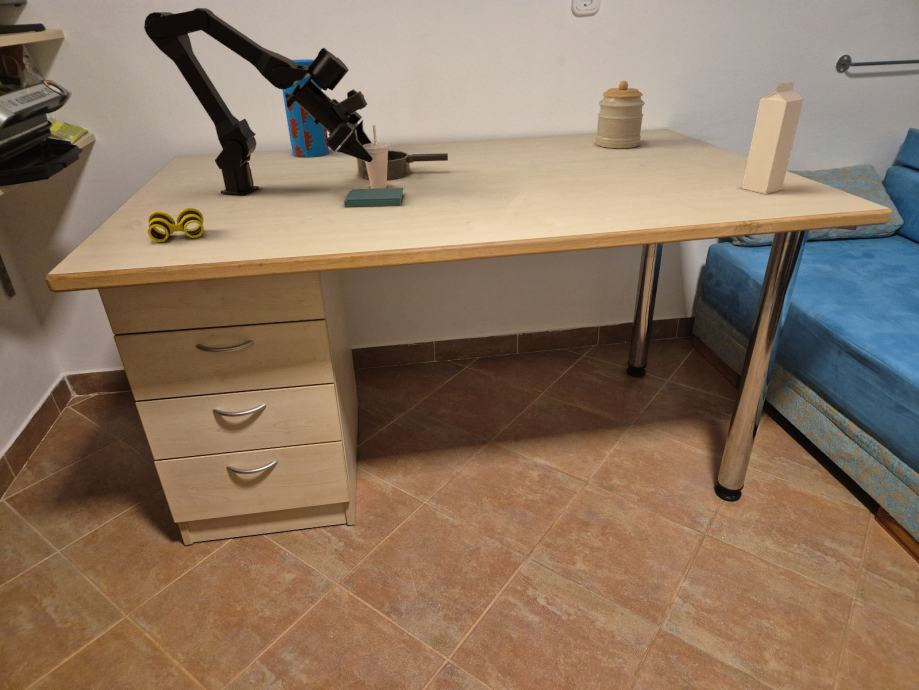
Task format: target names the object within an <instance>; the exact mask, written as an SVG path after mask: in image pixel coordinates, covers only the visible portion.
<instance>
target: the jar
mask: <svg viewBox="0 0 919 690" xmlns="http://www.w3.org/2000/svg"><path fill="white" fill-rule="evenodd" d="M643 94H644V93H642V92H641V91H639V89H638V88H633V87H629V83H628V81H626V80H621V81H620V82H619V83H618V87H613V88H608V89H607V90H606V91H604V92H603V93H602V96H603V98H602V99H601V100H600V101H599V102H598V105H599V106H600V107H599V113H597V128H596V134H595V143H596V146H599V147H602V148H608V149H631V148H636V147H638V146H640V142H641V132H642V123H643V118H644V114H643V107H644V105H645V104H646V103H645V101H644V100H642V97H643Z"/></svg>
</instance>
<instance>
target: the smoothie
mask: <svg viewBox="0 0 919 690" xmlns="http://www.w3.org/2000/svg"><path fill="white" fill-rule="evenodd" d="M372 135H373V142H372V143H370V144H365V145H362V146H363V147H364V148H365V149H366V150H367V152H368V153H369V154H370V155H371V157H372V158H373V160H372V161H371V162H367V161H365V163H366V167H367V172H368V177H369V180H368V181H369V185H370V189H377V188H388V187H387V184H388V183H387V182H388V180H387V162H388V151H390V145H389V144H388V143H385V142H377V129H376V125H375V124H373V125H372Z"/></svg>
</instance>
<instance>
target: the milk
mask: <svg viewBox="0 0 919 690" xmlns="http://www.w3.org/2000/svg"><path fill="white" fill-rule="evenodd" d="M794 84H795V82H794V81H789V82H780V83H777V84H776V85H775V91H773V92H772V93H770V94H768V95H766V96H764V97H762V98H760V100H759V105H758V109H757V114H756V119H755V123H754V128H753V134H752V139H751V143H750V148H749V152H748V157H747V162H746V167H745V171H744V177H743V180H742V186H741V189H743V190H746V191H751V192H756V193H759V194H764V195H767V194H771V193H775V192H779V191H781V190H782V189H783V186H784V182H785V179H786V174H787V171H788V165H789V163H790V162H789V161H790V157H791V154H792V153H791V152H792V149H793V144H794V140H795V137H796V132H797V128H798V124H799V120H800V117H801V112H802V109H803V103H804V98H803V97H802V96H801V95H799V93H797V92H796V91H795V90H794V89H793V88H794Z"/></svg>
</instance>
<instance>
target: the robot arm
mask: <svg viewBox="0 0 919 690" xmlns="http://www.w3.org/2000/svg"><path fill="white" fill-rule="evenodd" d="M143 29H144V31H145V32H144V33H146V35H147V37H148V38H149V39H150V40H151V41H152V43H153V44H154V45H155V46H156V47H157V48H158V50H159V51H160V52H162V53H163V54H164V55H165V56H167V57H168V59H170V60H171V61H172V62H173V63H174V64H175V66H176V67H177V69H178V70H179V72H180V73H181V75H182V77H183V78H184V80H185V81H186V83H187V85H188V86H189V88H190V89H191V90H192V92H193V94H194V96H195V97H196V98H197V100H198V101H199V103H200V104H201V106H202V107H203V109H204V111H205V112H206V114H207V115H208V117H209V119H210V120H211V122H212V123H213V125H214V128H215V132H216V136H217V139H218V142H219V144H220V146H221V148H222V150H221V151H220V152H219V154H218V155H217V157H216V158H215V159H214V162H215V164H216V166H217V167H218V169H219V170H221V174H222V179H223V184H224V188H225V189H222V190H221V191H220V193H221V194H222V195H223V194H224V195H234V196H235V195H237V196H244V195H247V194H250V193H252V192H254V191H256V190H259V189H260V186H259V185H254V179H253V173H252V169H251V166H250V160H251V158H252V157H251V156H252V154H253V153H254V152H255V150H256V148H257V140H256V137H255V136H256V135H257V134H256V133H255V132H254V131H253V130H252V129H251V127H250V125H249V122H248V121H247V119H246V118H243V119H241V120H239V119H238V118H237V117H236V116H234V114H232V112H231V110H230V109H229V107H228V106H227V104H226V102H225V101H224V99H223V97H222V96H221V95H220V93H219V91H218V89H217V88H216V87H215V85H214V83H213V81H212V80H211V78H210V77H209V75H208V73H207V72H206V70H205V69H204V67H203V66H202V64H201V63H200V61H199V60H198V58H197V56H196V55H195V53H194V49H193V46H192V42H191V38H190V35H189V34H193V33H196V32H200V31H202V32H204V33H205V34H207V35H208V36H209V37H211V38H213V39H214V40H216V41H217V42H219V43H220V44H221V45H223V46H224V47H226V48H228V49H229V50H231V51H232V52H233V53H235V54H236V55H238V56H239V57H241V58H243V59H244V60H245V61H247V62H248V63H250V64H251V65H252V66H253V67H254V68H256V70H257V71H258V72H259V73H260V75H261V76H262V77H263V78H264V79H265V80H267V81H268V82H269V83H270V84H271V85H272V86H273V87H275V88H276V89H278V90H282V89H288V88H290V87H292V86H293V85H295V84H296V83H297V82H298V81H299V80H302V79H304V78H306V77H308V76H309V75H311V77H310V78H309V79H308V81H307V82H306V83H305V84H304V85H302V84H298V85H297V87H296V88H295V89H294V91H293V92H292V93H287V94H285V97H286V101H287V107H288V108H290V107H291V106H293V105H294V103H295V102H296V103H297V104H298V105H300V106H301V107H302V108H303V109H304V110H305V111H306V112H307V113H308V114H309V115H311V116H312V117H313V118H314V119H315V120H314V122H315V123H316V124H317V125H318V124H320V125H321V126H323V127H324V128H325V129H326V130H327V133H328V139H327V145H328V147H329V149H331V151H333V152H337V153H341V154H344V155H347V156H350V157H352V158H356V159H357V158H358V159H361V160H364V161H367V162H371V161H372V160H373V158H372V157H371V155H370V154H369V153H368V152H367V150H366V149H365V148H364V147H363V146H362V145H365V144H370V143H373V142H372V140H371V139H370V137H369V136H368V135H367V133H366V132H365V129H364V119H362V118H363V116H362V115H361V114H359V112H357V111H359V110H360V111H361V110H362V109H365V108H366V107H367V106H368V102H367V100H366V98H365V95H364V94H363V93H362V91H361V90H359V91H356V90H355V89H351V90H349V91H347V93H346V98H344V99H342V100H341V101H338V100H337V99H336V98H332V99H331V97H329V96H328V95H327V94H326V93H325V92H326V91H327V90H330V91H334V90H335V89H336V87H337V86H338V85H339V83H340V82H341V81H342V80H343V78H344V77H345V76H346V75H347V74H348V72H349V71H350V70H349V68H348V66H347V65H346V64H345V63H344V62H343V60H341V58H339V56H338V57H337V56H336V55H334V54H333V53H332V52H330V51H328V49H327V48H325V47H322V48H321V49H320V50H319V51H318V53H317V56H316V57H315V58H314V59H313V60H314V61H313V62H312V64H311V65H310V66H307V65H305V66H303V65H297V64H296V63H295V62H294V61H293V60H294V59H291V58H289V57H287V56H284V55H282V54H280V53H278V52H275V51H273V50H270V49H267V48H265V47H263V46H262V45H261V44H259V43H257V42H256V41H254V40H253V39H252V38H250V37H248V36H247V35H246V34H244V33H242V32H241V31H240V30H238V29H236V28H235V27H233V26H232V25H231V24H229V23H228V22H226V21H225V20H223V19H222V18H220V17H219V16H218V15H216V14H215V13H214V12H213V11H212V10H211V9H209V8H207V7H206V8H204V7H197V8H194V9H193V10H187V11H183V12H178V13H173V12H170V11H154V12H151V13H149V14H148V15H147V16H146V17H145V19H144V25H143ZM312 80H313V81H314V82H315V83H316V84H317V85H318V86H319V87H320V88H321V89H322V90H320V89H319V88H318V87H317V86H316V85H315V84H314V83H313V82H312ZM324 91H325V92H324Z"/></svg>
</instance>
